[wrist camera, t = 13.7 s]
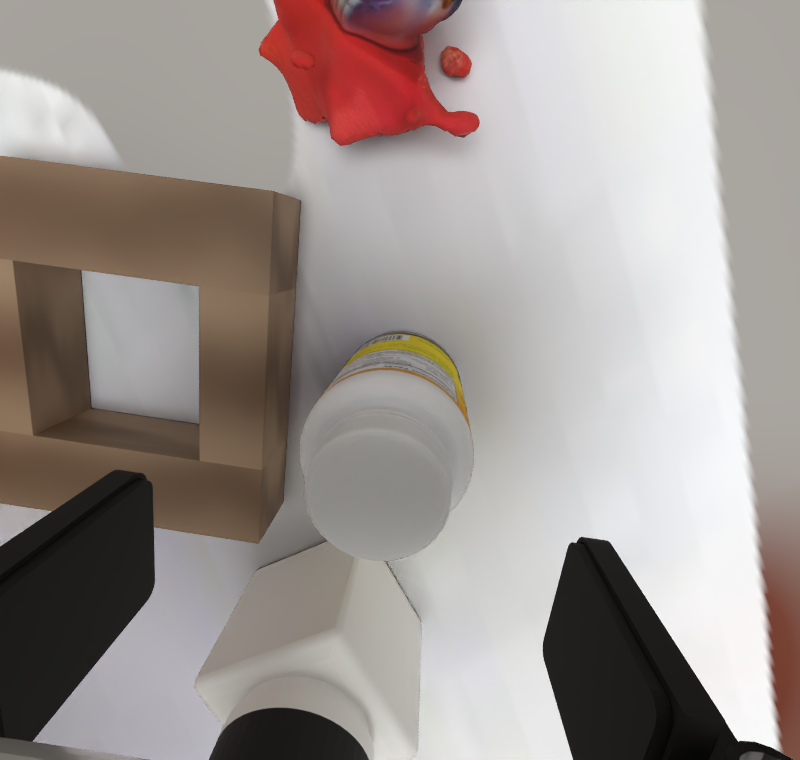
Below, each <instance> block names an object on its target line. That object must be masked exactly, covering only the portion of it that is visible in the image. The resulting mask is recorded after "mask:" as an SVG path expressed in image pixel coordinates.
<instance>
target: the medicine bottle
mask: <svg viewBox="0 0 800 760" xmlns="http://www.w3.org/2000/svg"><path fill="white" fill-rule="evenodd" d="M421 639H422V625H421V622H420V620H419V618H418V616H417V615H416V613H415V611H414V610H413V608H412V606H411V605H410V603H409V601H408V600H407V598H406V596H405V595H404V593H403V591H402V590H401V588H400V586H399V584H398V583H397V581H396V579H395V578H394V576H393V574H392V573H391V571H390V569H389V568H388V566H387V564H386V563H385V561H372V560H366V559H361V558H358V557H355V556H352V555H349V554H347V553H345V552H343V551H341V550H340V549H338V548H336V547H335V546H333V545H332V544H331V543H329V542H328V541H327V542H325V543H322V544H320V545H317V546H315V547H312V548H310V549H307V550H305V551H303V552H300V553H298V554H295V555H293V556H290V557H288V558H285V559H283V560H281V561H278V562H276V563H273V564H271V565H268V566H266V567H263V568H261V569H258V570H257V571H256V572H255V573H254V575H253V576H252V578H251V580H250V582H249V584H248V585H247V587H246V589H245V591H244V593H243V594H242V596H241V598H240V600H239V602H238V603H237V605H236V607H235V609H234V611H233V613H232V614H231V616H230V618H229V620H228V622H227V623H226V625H225V627H224V629H223V631H222V632H221V634H220V636H219V638H218V640H217V642H216V643H215V645H214V647H213V649H212V651H211V652H210V654H209V656H208V658H207V660H206V661H205V663H204V665H203V667H202V669H201V671H200V672H199V674H198V676H197V678H196V680H195V684H194V688H195V690H196V692H197V693H198V695H199V696H200V697H201V699H202V700H203V701H204V702H205V704H206V705H207V706H208V708H209V709H210V710H211V711H212V713H213V714H214V715H215V717H216V718H217V719H218V720H219V722H220V723H221V724H222V726H223V729H222V731H221V733H220V736H219V738H218V740H217V742H216V745H215V747H214V749H213V752H212V754H211V756H210V758H209V760H409V759H412V758H413V757H415V756H416V754H417V750H418V733H419V701H420V670H421Z"/></svg>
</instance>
